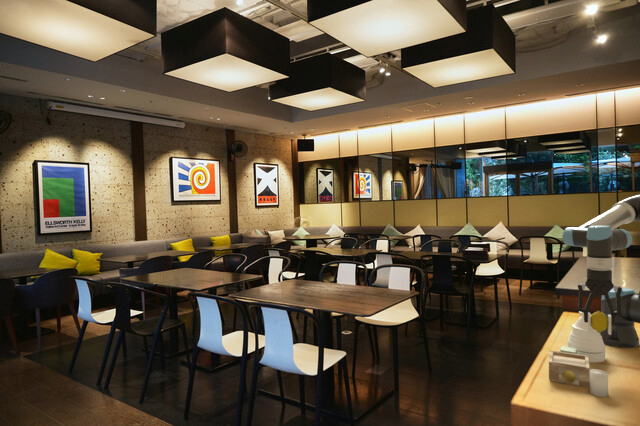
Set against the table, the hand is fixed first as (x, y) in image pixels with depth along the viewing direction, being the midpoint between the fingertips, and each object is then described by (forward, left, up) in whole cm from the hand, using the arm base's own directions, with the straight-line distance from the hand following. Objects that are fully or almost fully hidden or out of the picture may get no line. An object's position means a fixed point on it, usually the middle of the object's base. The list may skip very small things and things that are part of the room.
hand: (599, 332), depth 154 cm
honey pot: (-5, -15, -15) cm, 22 cm away
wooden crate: (+13, +4, -15) cm, 20 cm away
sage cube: (+5, -10, -15) cm, 19 cm away
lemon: (0, 0, -1) cm, 1 cm away
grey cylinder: (+11, +16, -15) cm, 24 cm away
